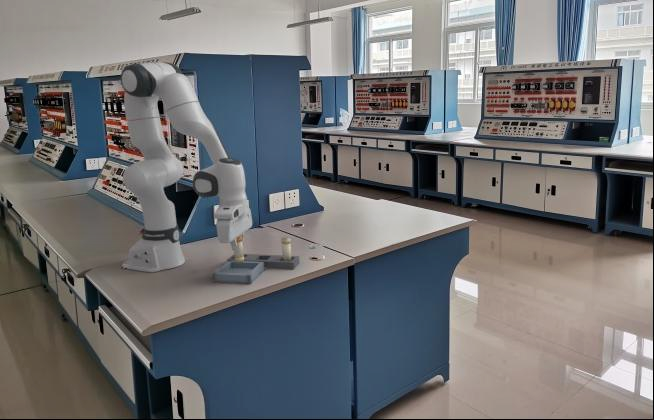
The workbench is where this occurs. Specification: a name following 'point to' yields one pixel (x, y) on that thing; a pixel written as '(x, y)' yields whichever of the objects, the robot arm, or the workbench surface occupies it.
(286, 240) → the right fuse
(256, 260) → the fuse holder
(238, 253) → the marked fuse
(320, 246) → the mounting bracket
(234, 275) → the parts tray
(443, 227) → the workbench surface
